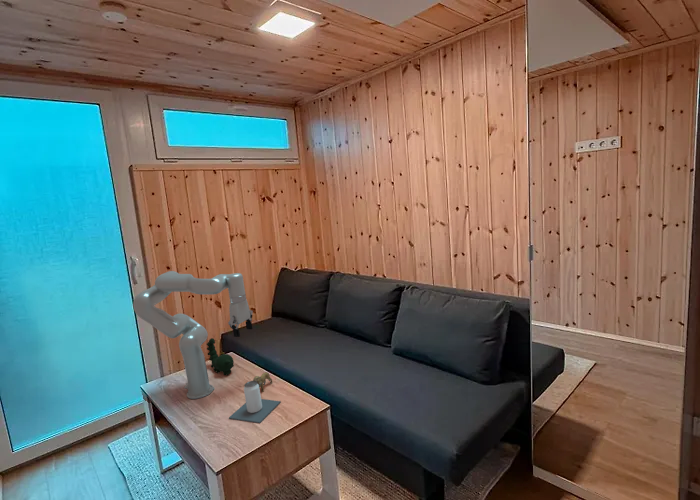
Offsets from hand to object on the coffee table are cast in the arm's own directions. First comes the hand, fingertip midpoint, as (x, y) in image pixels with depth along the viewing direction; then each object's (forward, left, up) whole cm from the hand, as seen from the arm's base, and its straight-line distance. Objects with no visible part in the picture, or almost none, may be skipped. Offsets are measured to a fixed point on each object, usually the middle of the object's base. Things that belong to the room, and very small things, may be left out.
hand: (243, 332), depth 185 cm
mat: (+15, -18, -28) cm, 37 cm away
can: (+15, -18, -28) cm, 36 cm away
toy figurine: (-29, +12, -29) cm, 42 cm away
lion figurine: (+8, -1, -29) cm, 30 cm away
